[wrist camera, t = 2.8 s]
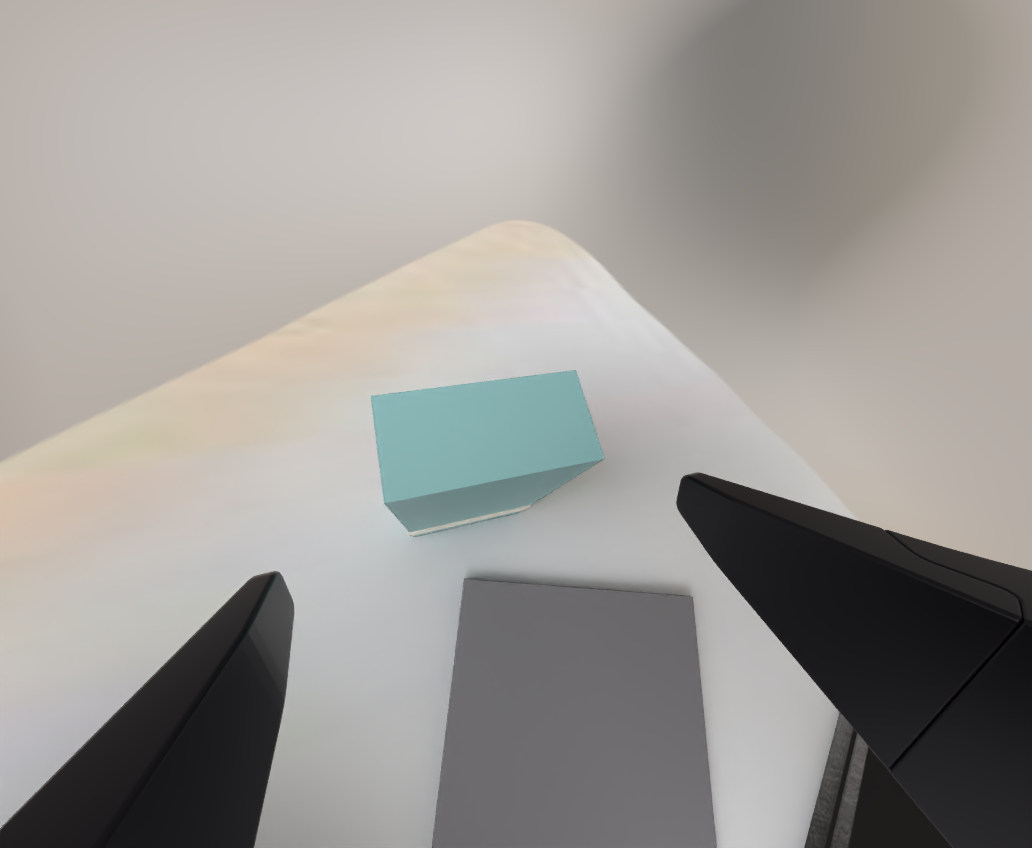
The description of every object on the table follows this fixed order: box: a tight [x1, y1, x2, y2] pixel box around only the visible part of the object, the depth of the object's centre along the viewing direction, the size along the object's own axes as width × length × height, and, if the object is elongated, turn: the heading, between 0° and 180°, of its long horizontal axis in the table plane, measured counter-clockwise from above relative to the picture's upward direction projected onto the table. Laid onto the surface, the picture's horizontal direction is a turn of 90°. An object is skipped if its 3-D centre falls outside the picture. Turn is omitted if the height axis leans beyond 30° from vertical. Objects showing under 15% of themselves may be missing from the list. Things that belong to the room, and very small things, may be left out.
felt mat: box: [432, 579, 716, 848], centre depth 14 cm, size 13×11×1 cm
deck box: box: [371, 370, 605, 537], centre depth 13 cm, size 2×5×10 cm, turn 103°
